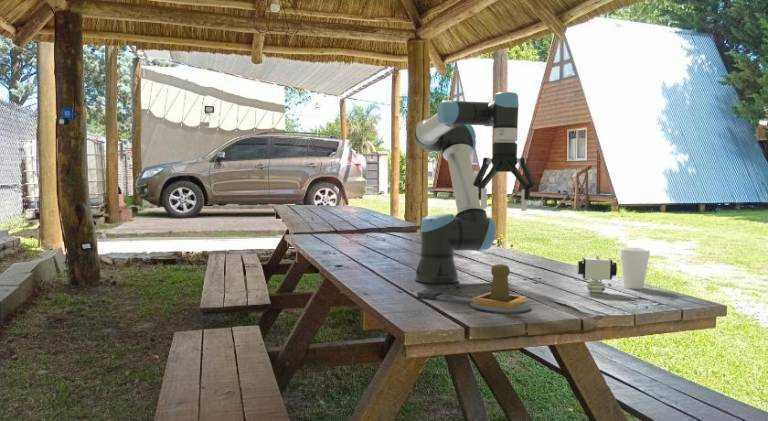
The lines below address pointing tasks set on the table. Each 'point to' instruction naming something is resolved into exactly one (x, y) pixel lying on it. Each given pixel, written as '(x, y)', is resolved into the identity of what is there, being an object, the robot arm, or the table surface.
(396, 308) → the table surface
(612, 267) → the pneumatic valve
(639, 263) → the foam cup
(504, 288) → the cork
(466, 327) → the table surface
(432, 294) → the round pan with handle
